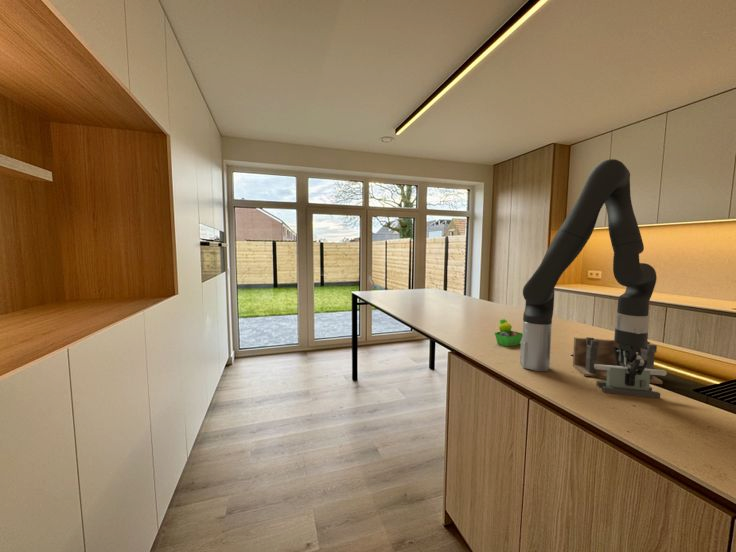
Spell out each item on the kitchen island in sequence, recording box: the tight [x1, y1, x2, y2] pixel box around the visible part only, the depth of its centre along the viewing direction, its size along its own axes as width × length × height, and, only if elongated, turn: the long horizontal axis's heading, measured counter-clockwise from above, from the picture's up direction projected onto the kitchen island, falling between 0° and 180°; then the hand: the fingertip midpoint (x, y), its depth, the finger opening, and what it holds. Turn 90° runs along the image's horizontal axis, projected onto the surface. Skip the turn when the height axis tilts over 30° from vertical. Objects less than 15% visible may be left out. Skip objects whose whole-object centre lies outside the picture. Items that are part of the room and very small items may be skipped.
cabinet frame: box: [572, 336, 663, 385], centre depth 103 cm, size 22×10×13 cm, turn 74°
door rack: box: [595, 380, 661, 399], centre depth 90 cm, size 14×5×2 cm, turn 74°
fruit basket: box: [494, 318, 523, 347], centre depth 138 cm, size 11×9×11 cm
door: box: [594, 364, 668, 391], centre depth 90 cm, size 18×3×8 cm, turn 74°
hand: (627, 383), depth 90 cm, fingers closed on door, 2 cm apart
